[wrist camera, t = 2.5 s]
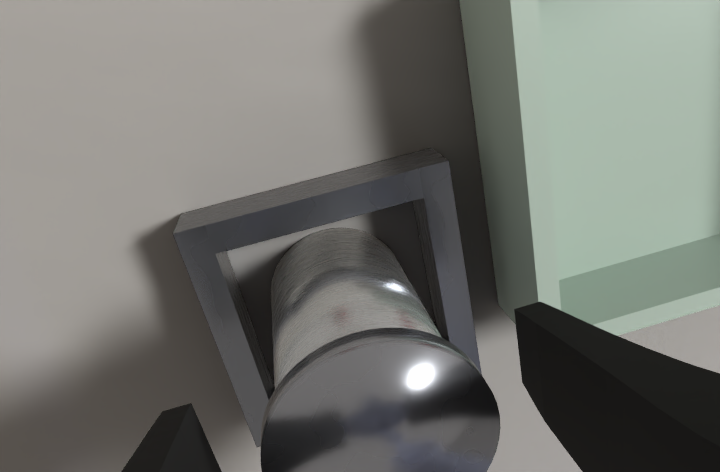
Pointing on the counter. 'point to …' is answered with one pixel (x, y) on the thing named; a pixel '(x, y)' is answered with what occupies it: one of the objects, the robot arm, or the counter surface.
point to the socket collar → (311, 209)
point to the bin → (600, 154)
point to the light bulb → (367, 369)
